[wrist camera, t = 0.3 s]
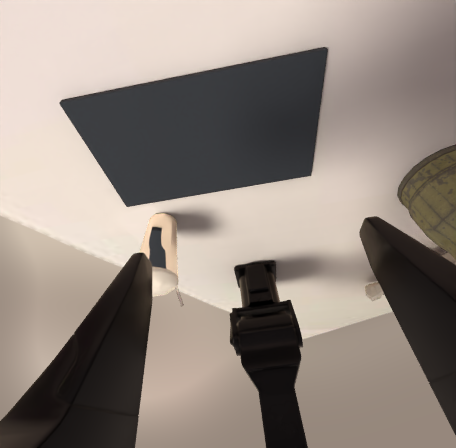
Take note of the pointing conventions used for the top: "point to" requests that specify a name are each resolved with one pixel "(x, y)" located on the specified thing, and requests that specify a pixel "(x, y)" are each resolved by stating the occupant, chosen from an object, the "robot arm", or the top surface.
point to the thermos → (433, 197)
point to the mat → (206, 128)
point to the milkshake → (162, 253)
